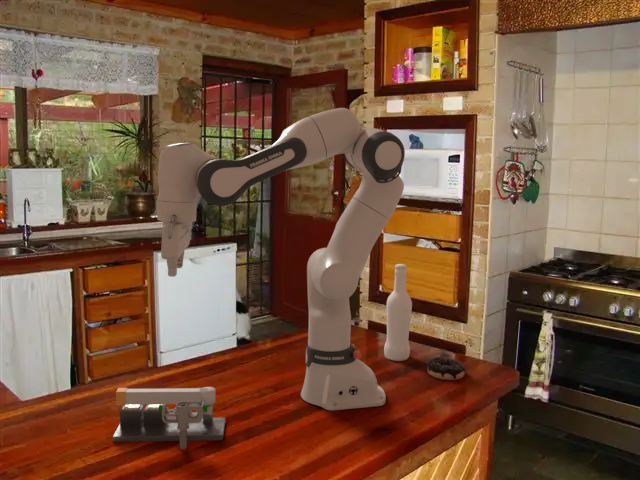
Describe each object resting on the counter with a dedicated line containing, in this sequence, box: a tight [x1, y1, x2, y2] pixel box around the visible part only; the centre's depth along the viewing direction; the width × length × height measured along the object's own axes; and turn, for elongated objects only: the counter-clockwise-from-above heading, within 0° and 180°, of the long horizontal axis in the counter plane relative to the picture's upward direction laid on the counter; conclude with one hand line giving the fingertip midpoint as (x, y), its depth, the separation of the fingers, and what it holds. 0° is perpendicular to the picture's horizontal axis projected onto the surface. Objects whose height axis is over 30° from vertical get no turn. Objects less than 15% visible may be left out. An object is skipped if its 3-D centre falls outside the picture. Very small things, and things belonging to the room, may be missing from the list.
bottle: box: [383, 263, 413, 362], centre depth 195 cm, size 8×8×30 cm
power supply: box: [143, 404, 165, 426], centre depth 144 cm, size 5×4×4 cm
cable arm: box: [115, 386, 216, 407], centre depth 144 cm, size 22×4×3 cm, turn 95°
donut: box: [426, 356, 466, 381], centre depth 184 cm, size 11×12×4 cm
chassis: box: [112, 404, 226, 443], centre depth 142 cm, size 24×9×6 cm, turn 95°
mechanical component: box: [158, 401, 208, 450], centre depth 135 cm, size 3×10×10 cm, turn 95°
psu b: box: [119, 404, 145, 426], centre depth 144 cm, size 5×4×4 cm
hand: (175, 271), depth 146 cm, fingers open, 8 cm apart
